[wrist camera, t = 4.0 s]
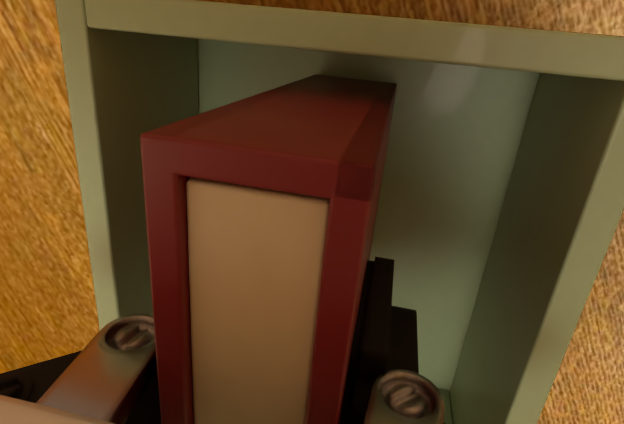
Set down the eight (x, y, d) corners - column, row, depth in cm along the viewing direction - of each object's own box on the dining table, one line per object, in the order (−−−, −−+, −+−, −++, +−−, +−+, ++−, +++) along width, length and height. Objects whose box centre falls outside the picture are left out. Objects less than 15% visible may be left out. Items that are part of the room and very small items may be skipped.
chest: (187, 9, 16) (51, -12, 10) (567, 42, 14) (693, 42, 8) (196, 335, 22) (115, 448, 16) (461, 393, 20) (486, 550, 14)
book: (314, 74, 15) (137, 132, 5) (397, 83, 15) (376, 166, 5) (293, 321, 20) (174, 612, 10) (357, 334, 19) (302, 656, 9)
